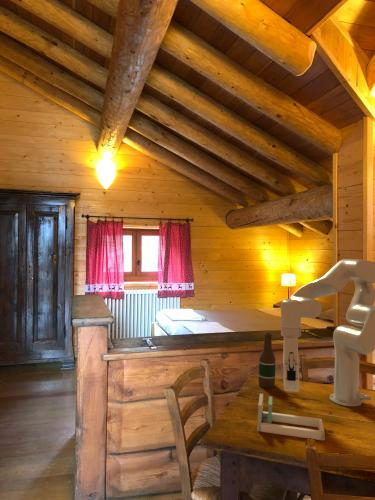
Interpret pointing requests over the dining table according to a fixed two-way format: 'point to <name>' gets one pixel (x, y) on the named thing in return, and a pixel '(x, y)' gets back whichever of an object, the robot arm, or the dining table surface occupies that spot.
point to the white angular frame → (292, 420)
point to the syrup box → (291, 385)
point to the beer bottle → (267, 364)
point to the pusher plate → (269, 412)
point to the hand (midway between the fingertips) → (291, 377)
